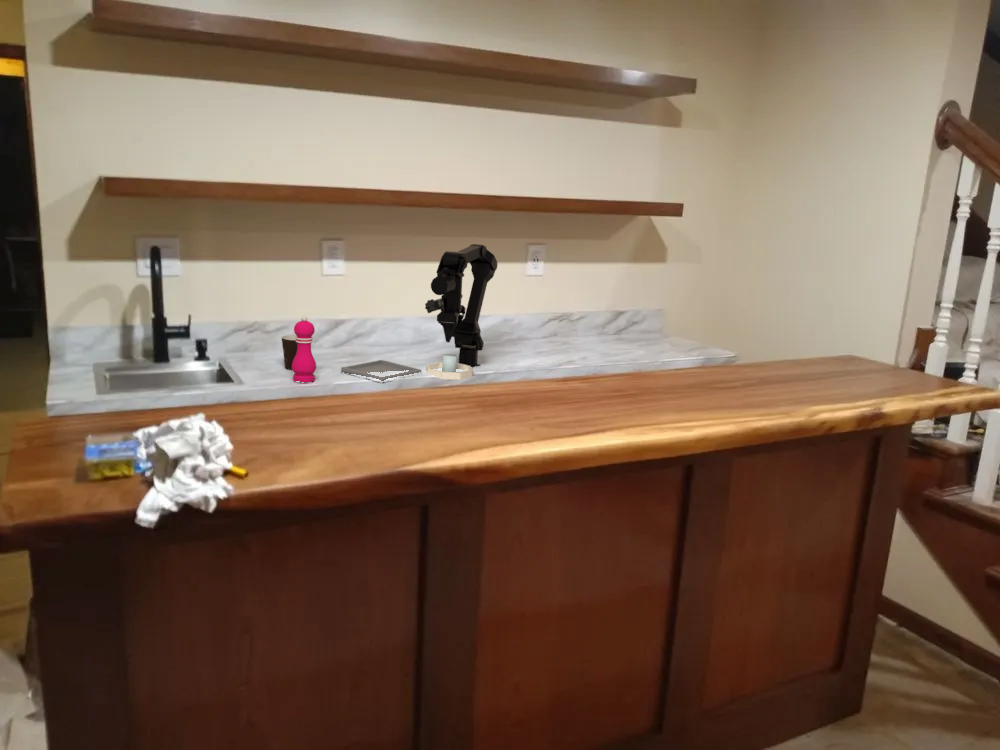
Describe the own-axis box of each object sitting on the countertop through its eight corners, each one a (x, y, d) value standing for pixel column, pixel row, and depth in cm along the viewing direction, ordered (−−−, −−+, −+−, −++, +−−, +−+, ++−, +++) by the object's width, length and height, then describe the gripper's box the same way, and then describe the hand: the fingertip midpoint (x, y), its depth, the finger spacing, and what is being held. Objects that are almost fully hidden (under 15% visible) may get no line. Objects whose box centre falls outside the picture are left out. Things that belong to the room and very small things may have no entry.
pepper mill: (293, 377, 243) (294, 313, 238) (317, 378, 244) (318, 314, 239) (289, 383, 236) (289, 317, 231) (314, 384, 237) (314, 318, 232)
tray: (381, 364, 268) (381, 359, 267) (421, 374, 257) (421, 369, 257) (341, 372, 253) (341, 367, 253) (381, 383, 243) (381, 378, 243)
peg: (448, 371, 263) (449, 353, 261) (458, 373, 260) (459, 356, 259) (439, 373, 259) (440, 355, 258) (449, 375, 256) (450, 357, 255)
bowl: (446, 367, 269) (446, 360, 269) (480, 375, 261) (480, 368, 261) (417, 373, 258) (417, 366, 257) (451, 382, 250) (452, 375, 249)
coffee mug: (301, 372, 250) (302, 341, 248) (276, 369, 252) (276, 338, 249) (317, 364, 261) (317, 335, 259) (293, 361, 263) (293, 332, 260)
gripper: (433, 286, 263) (431, 332, 267) (421, 293, 245) (419, 343, 249) (466, 288, 262) (464, 334, 266) (457, 296, 244) (454, 346, 248)
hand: (450, 339), depth 257 cm, fingers open, 9 cm apart
